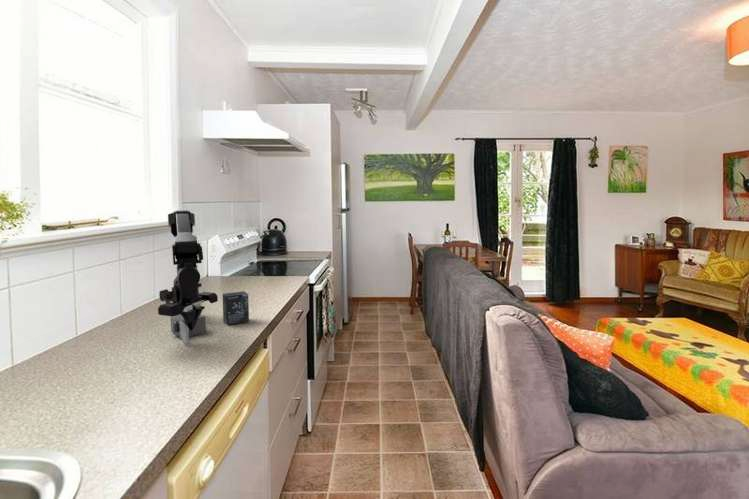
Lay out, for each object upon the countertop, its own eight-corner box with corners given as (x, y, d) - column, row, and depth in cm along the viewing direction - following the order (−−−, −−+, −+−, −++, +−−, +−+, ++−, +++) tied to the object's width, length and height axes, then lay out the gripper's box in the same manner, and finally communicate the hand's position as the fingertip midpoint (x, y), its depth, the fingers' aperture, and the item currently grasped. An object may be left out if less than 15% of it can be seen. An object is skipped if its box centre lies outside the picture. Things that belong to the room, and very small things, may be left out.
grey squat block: (167, 332, 142) (166, 315, 141) (195, 326, 149) (194, 310, 148) (176, 338, 136) (175, 320, 135) (206, 332, 142) (205, 315, 141)
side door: (183, 336, 137) (182, 320, 136) (189, 344, 129) (188, 327, 129) (180, 337, 136) (179, 321, 135) (186, 344, 129) (185, 328, 128)
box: (227, 325, 150) (226, 296, 149) (223, 322, 155) (221, 293, 154) (249, 322, 154) (248, 293, 153) (244, 318, 159) (243, 290, 158)
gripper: (190, 273, 142) (193, 319, 144) (141, 285, 125) (146, 336, 127) (217, 275, 138) (220, 322, 140) (171, 288, 121) (174, 341, 123)
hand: (191, 330), depth 132 cm, fingers closed
